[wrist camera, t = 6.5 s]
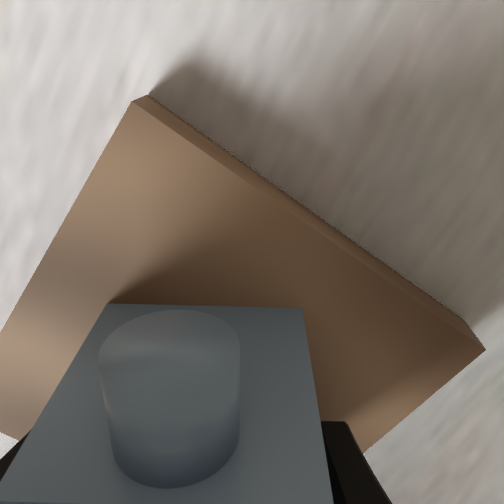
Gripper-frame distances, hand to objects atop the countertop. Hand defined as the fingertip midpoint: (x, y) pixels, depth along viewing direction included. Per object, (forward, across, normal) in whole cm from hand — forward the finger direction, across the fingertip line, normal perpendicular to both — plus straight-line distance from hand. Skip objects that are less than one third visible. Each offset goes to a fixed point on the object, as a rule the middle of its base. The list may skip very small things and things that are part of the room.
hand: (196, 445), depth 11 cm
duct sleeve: (+2, 0, 0) cm, 2 cm away
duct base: (+4, 0, 0) cm, 4 cm away
